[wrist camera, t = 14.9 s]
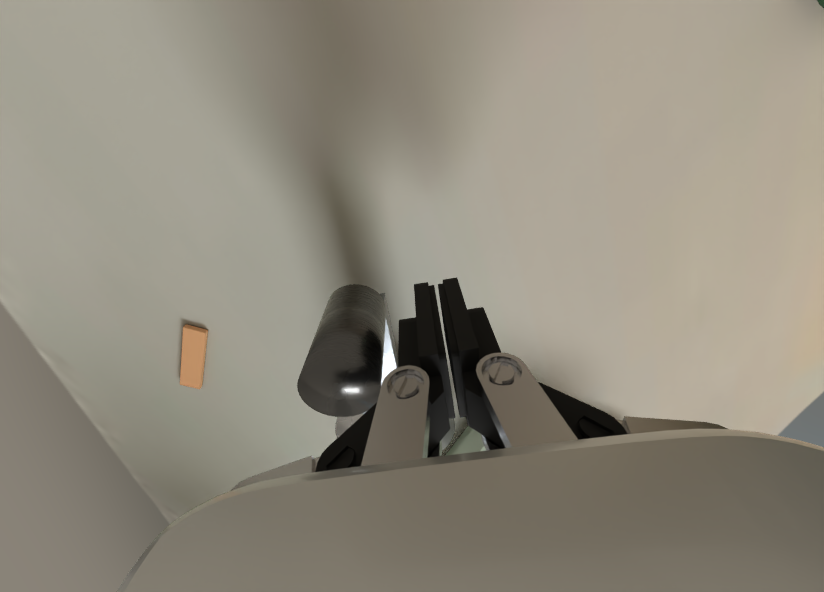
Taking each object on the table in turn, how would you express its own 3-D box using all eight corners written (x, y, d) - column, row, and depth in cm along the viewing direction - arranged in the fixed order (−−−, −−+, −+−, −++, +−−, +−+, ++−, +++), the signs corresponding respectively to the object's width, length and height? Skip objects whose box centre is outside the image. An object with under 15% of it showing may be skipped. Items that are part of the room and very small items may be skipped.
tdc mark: (202, 385, 21) (199, 389, 20) (182, 381, 20) (179, 384, 20) (208, 330, 18) (205, 333, 18) (186, 324, 18) (183, 327, 18)
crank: (428, 451, 21) (437, 555, 16) (371, 458, 21) (363, 562, 16) (397, 266, 14) (395, 351, 9) (311, 277, 14) (262, 367, 9)
